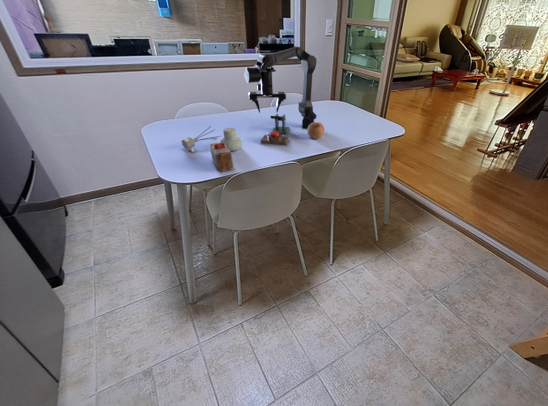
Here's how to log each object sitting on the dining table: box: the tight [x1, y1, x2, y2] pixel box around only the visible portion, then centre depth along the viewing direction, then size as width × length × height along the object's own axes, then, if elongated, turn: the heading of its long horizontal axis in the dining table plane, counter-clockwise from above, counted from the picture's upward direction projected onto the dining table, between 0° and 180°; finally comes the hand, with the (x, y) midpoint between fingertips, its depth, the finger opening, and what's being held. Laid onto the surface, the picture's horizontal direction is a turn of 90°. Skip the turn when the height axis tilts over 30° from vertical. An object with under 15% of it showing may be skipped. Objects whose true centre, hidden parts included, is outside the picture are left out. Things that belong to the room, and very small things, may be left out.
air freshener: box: [220, 127, 243, 152], centre depth 138 cm, size 11×8×10 cm
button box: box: [260, 133, 290, 146], centre depth 151 cm, size 13×8×4 cm, turn 86°
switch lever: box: [270, 115, 283, 122], centre depth 157 cm, size 12×6×2 cm, turn 176°
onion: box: [306, 121, 325, 140], centre depth 158 cm, size 10×9×10 cm
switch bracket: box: [272, 113, 290, 135], centre depth 163 cm, size 10×8×9 cm
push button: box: [269, 130, 279, 137], centre depth 149 cm, size 4×4×2 cm
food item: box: [209, 141, 234, 172], centre depth 124 cm, size 14×8×10 cm, turn 31°
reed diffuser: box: [181, 126, 221, 153], centre depth 143 cm, size 10×7×20 cm
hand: (268, 112), depth 154 cm, fingers open, 9 cm apart
